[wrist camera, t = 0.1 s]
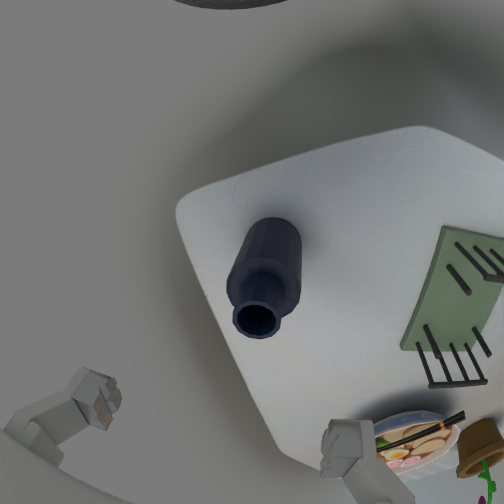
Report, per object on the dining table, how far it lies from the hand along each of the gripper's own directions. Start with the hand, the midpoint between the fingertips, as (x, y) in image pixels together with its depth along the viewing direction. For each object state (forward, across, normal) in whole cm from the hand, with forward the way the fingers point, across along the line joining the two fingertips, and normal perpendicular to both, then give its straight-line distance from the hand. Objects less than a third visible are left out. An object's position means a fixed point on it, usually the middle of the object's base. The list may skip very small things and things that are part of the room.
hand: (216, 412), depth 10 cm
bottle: (+25, 0, +4) cm, 25 cm away
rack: (+25, -26, +8) cm, 37 cm away
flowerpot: (+25, -54, +45) cm, 75 cm away
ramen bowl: (+25, -28, +38) cm, 54 cm away
